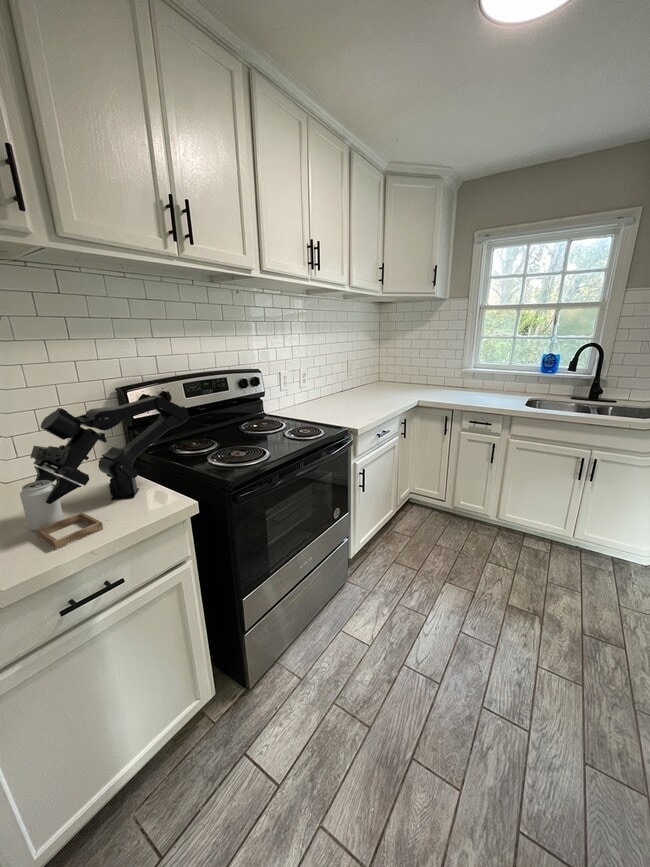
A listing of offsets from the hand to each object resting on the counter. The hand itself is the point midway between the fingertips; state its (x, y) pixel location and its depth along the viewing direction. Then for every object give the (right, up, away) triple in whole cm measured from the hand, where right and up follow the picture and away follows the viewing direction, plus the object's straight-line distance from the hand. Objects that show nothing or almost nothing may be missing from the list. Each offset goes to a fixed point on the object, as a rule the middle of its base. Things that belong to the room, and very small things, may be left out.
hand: (40, 499), depth 92 cm
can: (0, -8, +2) cm, 8 cm away
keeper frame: (+9, -8, -2) cm, 13 cm away
